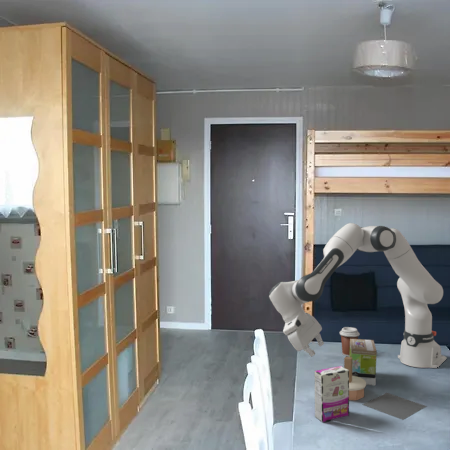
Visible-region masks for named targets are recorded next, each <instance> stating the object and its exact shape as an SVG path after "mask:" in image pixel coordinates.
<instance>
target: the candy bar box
mask: <svg viewBox="0 0 450 450" xmlns="http://www.w3.org/2000/svg"><path fill="white" fill-rule="evenodd" d="M349 415H350V400H349V370H348V369H346V368H344V366H342V365H340V366H334V367H328V368H323V369H319V370H318V369H317V370H314V418H316V419H317V420H319V421H320V422H321V423H326V422H331V421H332V420H333V419H338V418H342V417H349Z"/></svg>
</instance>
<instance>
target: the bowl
mask: <svg viewBox="0 0 450 450" xmlns="http://www.w3.org/2000/svg"><path fill="white" fill-rule="evenodd" d="M364 397H365V388H364V389H361V390H356V391H349V401H358V400H360V399H362V398H364Z"/></svg>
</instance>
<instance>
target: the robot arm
mask: <svg viewBox="0 0 450 450" xmlns="http://www.w3.org/2000/svg"><path fill="white" fill-rule="evenodd" d="M322 251H323V253H322V254H323V259H321V261H320V263H319V264H318V265H317V266H316V267H315V268H314V270H313V271H312V272H310V273H307V274H306V275H303V276H302V277H301V278H299V279H296V280H292V281H279V282H278V283H276V284H275V285H273V287H272V288H271V289H270V291H269V293H268V298H269V300H270V302H271V303H272V305H273V307H274V308H275V310H276V311H277V312H278V313H279V314H280V315H281V317H282V320H283V322H284V326H283V330H282V332H283V334H284V336H287V339H288V341H289V342H290V344H291V345H292V346H293V348H294V349H295V350H296V351H297V352H301V351H302V350H303V351H304V352H305V353H307V354H308V355H309V357H310V358H311V357H313V356H315V355H316V351H315V350H314V349H311V348H310V343H311V342H312V341H313V340H314V339H316V341H317V345H318V347H322V346H324V344H325V342H324V341H323V339H322V336H321V333H320V332H321V331H322V330H323V327H322V325H321V324H320V323H319V321H318V320H317V319H316V318H315V316H313V315H312V314H310V313H309V312H305V309H304V308H303V307H302V305H304V304H306V303H307V304H308V303H309V302H315V301H317V300H319V299H320V297H321V296H322V294H323V292H324V288H325V285H326V282H327V281H328V280H329V279H330V277H331V276H332V275H333V273H334V272H335V271H336V270H337V269H338V268H339V267H340V266H342V265H343V264H344V263H346V262H347V261H348V260H349V259H350V258H351V257H352V256H353V255H354V253H355V252H356V251H359V252H366V253H374V252H375V253H376V252H383V253H384V256H385V257H386V259H387V261H388V263H389V264H390V265H391V266H390V267H392V270H393V271H394V272H395V274H396V275H397V276H398V277H399V278H398V279H397V282H396V286H397V289H398V292H399V293H400V295H401V299H402V303H403V307H404V316H405V317H404V322H405V323H404V330H403V340H402V341H401V343H400V354H397V359H399V360H400V363H402V364H404V365H407V366H410V367H412V368H422V369H423V368H425V369H426V368H431V369H432V368H433V369H438V368H440V367H441V366H442V365H443V364H444V363H445V362H446V361H447V360H448V359H447V358H448V357H447V356H445V355H443V354H442V347H441V346H440V344H438V343H437V342H436V341H435V338H434V337H436V336H437V331H434V330H432V329H433V316H432V315H433V314H432V312H431V311H430V309H429V307H428V305H436V304H438V303H439V302H440V301H441V300H442V299H443V296H444V289H443V286H442V284H440V283H439V281H437V280H436V279H434V277H433V276H432V274H431V273H429V271H428V270H427V269H426V268H425V267H424V266H423V265H422V263H421V261H420V260H419V259H418V257H417V255H416V253H415V252H414V250H413V248H412V247H411V245H410V243H409V241H408V240H407V238H406V237H405V236H404V235H403V234H402V232H401V231H400V230H399V229H398V228H393V227H392V228H390V227H388V226H384V225H368V226H363V227H362V226H359V225H358V224H357V223H353V222H348V223H346V224H345V225H343V226H342V227H341V228H340V229H338V230H337V231H336V232H335V233H334V234H333V235H332V236H331V237H330V239H329V240H328V241H327V243H326V244H325V246H324V248H323V249H322ZM446 359H447V360H446ZM445 360H446V361H445ZM444 361H445V362H444ZM443 362H444V363H443ZM442 363H443V364H442ZM441 364H442V365H441ZM440 365H441V366H440ZM439 366H440V367H439ZM437 367H438V368H437Z"/></svg>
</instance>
